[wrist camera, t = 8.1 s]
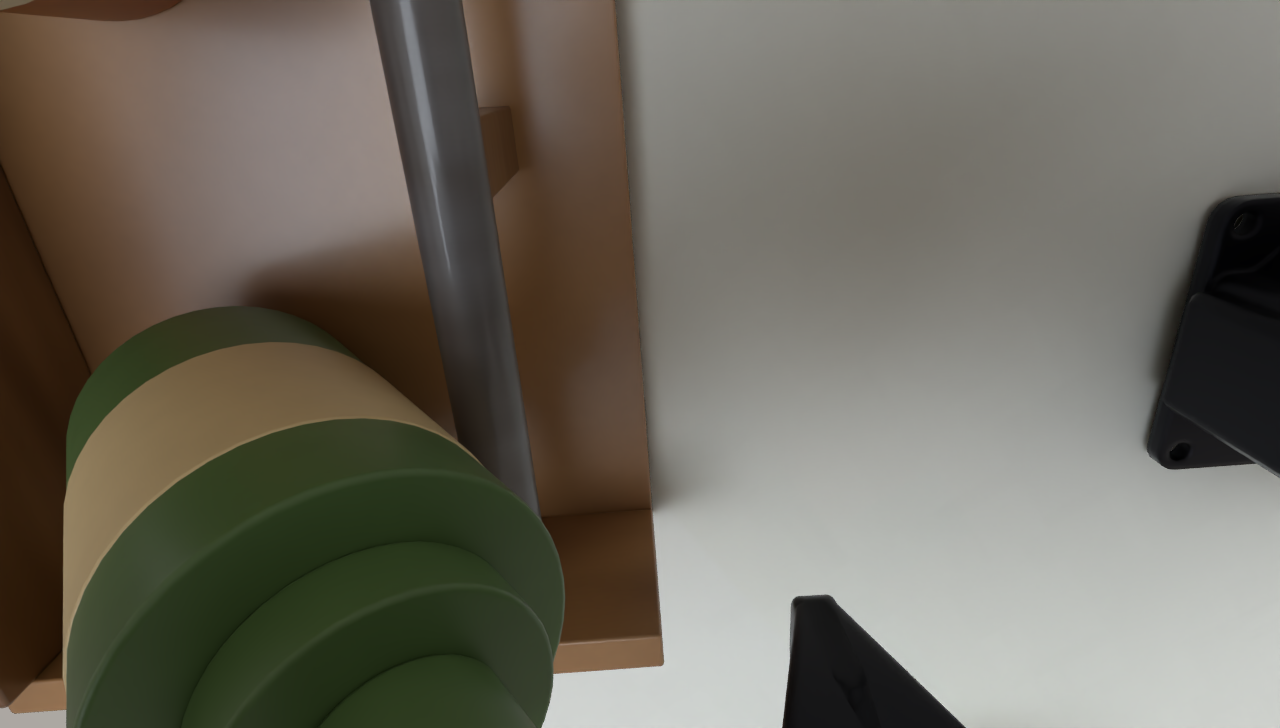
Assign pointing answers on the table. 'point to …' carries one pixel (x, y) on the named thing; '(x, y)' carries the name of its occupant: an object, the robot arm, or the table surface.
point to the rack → (336, 255)
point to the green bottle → (290, 545)
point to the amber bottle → (88, 8)
